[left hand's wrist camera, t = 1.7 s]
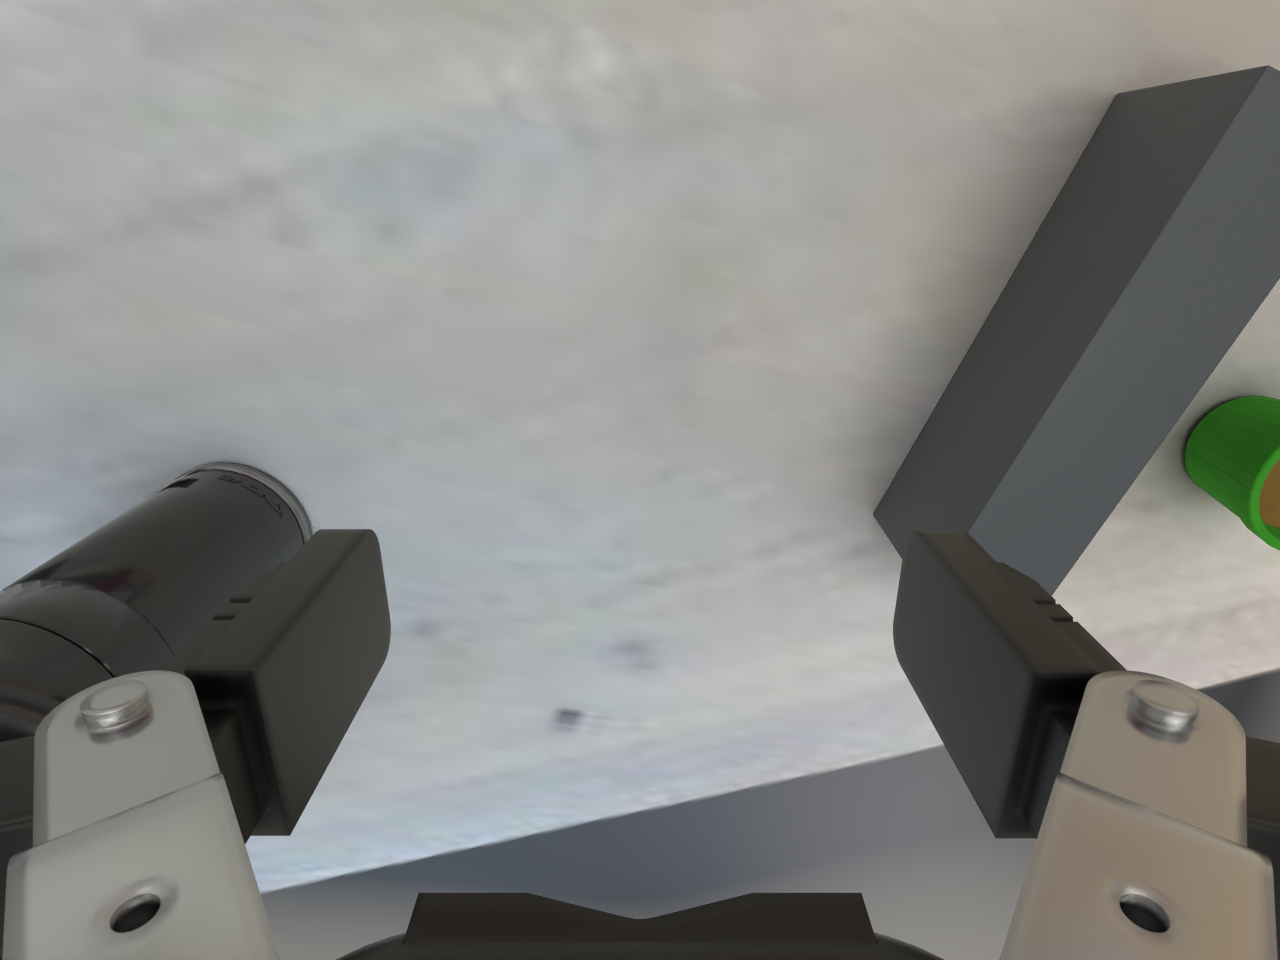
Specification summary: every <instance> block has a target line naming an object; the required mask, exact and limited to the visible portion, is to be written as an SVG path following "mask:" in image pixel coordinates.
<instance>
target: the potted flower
mask: <svg viewBox="0 0 1280 960" xmlns="http://www.w3.org/2000/svg"><path fill="white" fill-rule="evenodd" d="M1185 465H1186V469H1187V472H1188V474H1189V476H1190V478H1191V479H1192V480H1193V482H1194V483H1195V484H1196V485H1198V486H1199V487H1200V488H1201V489H1203V490H1204V491H1205V492H1207V493H1208V494H1209V495H1211V496H1212V497H1213V498H1215V499H1216V500H1217V501H1219V502H1220V503H1221V504H1223V505H1224V506H1225V507H1226V508H1228V509H1229V510H1230V511H1232V512H1233V513H1234V514H1236V515H1237V516H1238V517H1240V519H1241V520H1242V521H1243V523H1244V524H1245V526H1246V527H1247V528H1248V529H1249V530H1251V531H1252V532H1253V533H1254V534H1256V535H1257V536H1258V537H1259V538H1261V539H1262V540H1263V541H1265V542H1266V543H1267V544H1268V545H1270V546H1272V547H1274V548H1276V549H1278V550H1280V400H1278V399H1274V398H1269V397H1264V396H1248V397H1242V398H1238V399H1235V400H1232V401H1229V402H1226V403H1224V404H1222V405H1220V406H1219V407H1217V408H1215V409H1214V410H1213V411H1211V412H1210V413H1208V414H1207V415H1206V416H1205V417H1204V418H1203V419H1202V420H1201V421H1200V422H1199V423H1198V425H1197V426H1196V427H1195V429H1194V430H1193V432H1192V434H1191V436H1190V437H1189V439H1188V442H1187V446H1186V449H1185Z"/></svg>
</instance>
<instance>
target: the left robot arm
mask: <svg viewBox="0 0 1280 960" xmlns="http://www.w3.org/2000/svg"><path fill="white" fill-rule="evenodd" d="M167 485H168V486H167ZM165 486H167V487H166V488H164V489H162V490H161V491H159V492H158V493H156V494H154V495H153V496H151V497H149V498H147V499H146V500H144V501H143V502H141V503H139V504H138V505H136V506H135V507H133V508H131V509H130V510H128V511H127V512H125V513H124V514H122V515H120V516H119V517H117V518H116V519H114V520H112V521H111V522H109V523H108V524H106V525H104V526H103V527H101V528H100V529H98V530H97V531H95V532H93V533H92V534H90V535H89V536H87V537H85V538H84V539H82V540H81V541H79V542H77V543H76V544H74V545H73V546H71V547H70V548H68V549H66V550H65V551H63V552H62V553H60V554H58V555H57V556H55V557H54V558H52V559H50V560H49V561H47V562H46V563H44V564H43V565H41V566H39V567H38V568H36V569H35V570H33V571H31V572H30V573H28V574H27V575H25V576H23V577H22V578H20V579H19V580H17V581H16V582H14V583H12V584H11V585H9V586H8V587H6V588H4V589H3V590H2V591H0V960H281V959H280V956H279V953H278V950H277V946H276V943H275V940H274V937H273V934H272V930H271V927H270V924H269V921H268V918H267V914H266V911H265V908H264V905H263V901H262V898H261V895H260V892H259V889H258V885H257V882H256V879H255V876H254V873H253V869H252V866H251V863H250V860H249V856H248V853H247V850H246V847H245V844H246V842H247V840H248V839H249V837H250V836H290V834H291V833H292V831H293V829H294V827H295V825H296V823H297V822H298V820H299V818H300V816H301V814H302V812H303V811H304V809H305V807H306V805H307V803H308V801H309V800H310V798H311V796H312V794H313V792H314V790H315V789H316V787H317V785H318V783H319V781H320V779H321V777H322V776H323V774H324V772H325V770H326V768H327V766H328V765H329V763H330V761H331V759H332V757H333V755H334V754H335V752H336V750H337V748H338V746H339V744H340V743H341V741H342V739H343V737H344V735H345V733H346V732H347V730H348V728H349V726H350V724H351V722H352V721H353V719H354V717H355V715H356V713H357V711H358V710H359V708H360V706H361V704H362V702H363V700H364V698H365V697H366V695H367V693H368V691H369V689H370V687H371V686H372V684H373V682H374V680H375V678H376V676H377V675H378V673H379V671H380V669H381V667H382V665H383V664H384V661H385V659H386V656H387V653H388V649H389V643H390V634H391V624H390V615H389V608H388V601H387V594H386V587H385V580H384V573H383V566H382V560H381V553H380V546H379V542H378V538H377V536H376V534H375V533H374V531H373V530H371V529H320V530H318V531H317V532H316V533H315V534H314V535H313V536H312V534H311V529H310V525H309V522H308V519H307V517H306V515H305V513H304V511H303V509H302V508H301V506H300V504H299V503H298V502H297V500H296V499H295V498H294V497H293V495H292V494H291V493H290V492H289V491H288V490H287V489H286V488H285V487H284V486H282V485H281V484H280V483H279V482H277V481H276V480H274V479H273V478H271V477H270V476H268V475H266V474H264V473H262V472H260V471H258V470H256V469H253V468H250V467H247V466H244V465H239V464H234V463H211V464H205V465H202V466H198V467H196V468H193V469H191V470H189V471H188V472H186V473H184V474H183V475H181V476H180V477H178V478H177V479H175V480H174V481H172V482H170V483H168V484H166V485H164V486H162V487H160V488H158V489H157V490H155V491H153V492H152V493H154V492H156V491H158V490H160V489H161V488H163V487H165ZM152 493H150V494H152ZM150 494H148V495H150ZM148 495H147V496H148ZM145 497H146V496H145ZM893 637H894V646H895V651H896V655H897V658H898V661H899V663H900V665H901V667H902V669H903V671H904V672H905V674H906V676H907V678H908V680H909V681H910V683H911V685H912V687H913V689H914V691H915V692H916V694H917V696H918V698H919V700H920V701H921V703H922V705H923V707H924V709H925V710H926V712H927V714H928V716H929V718H930V720H931V721H932V723H933V725H934V727H935V729H936V730H937V732H938V734H939V736H940V738H941V740H942V741H943V743H944V745H945V747H946V749H947V750H948V752H949V754H950V756H951V758H952V759H953V761H954V763H955V765H956V767H957V769H958V770H959V772H960V774H961V776H962V778H963V779H964V781H965V783H966V785H967V787H968V788H969V790H970V792H971V794H972V796H973V798H974V799H975V801H976V803H977V805H978V807H979V808H980V810H981V812H982V814H983V816H984V818H985V819H986V821H987V823H988V825H989V827H990V828H991V830H992V832H993V834H994V836H995V838H1036V839H1037V840H1036V844H1035V847H1034V850H1033V853H1032V856H1031V860H1030V863H1029V866H1028V869H1027V873H1026V876H1025V879H1024V882H1023V885H1022V889H1021V892H1020V895H1019V898H1018V902H1017V905H1016V908H1015V911H1014V914H1013V918H1012V921H1011V924H1010V927H1009V930H1008V934H1007V937H1006V940H1005V943H1004V946H1003V950H1002V953H1001V956H1000V959H999V960H1280V743H1276V742H1271V741H1265V740H1260V739H1255V738H1250V737H1246V736H1245V733H1244V730H1243V728H1242V726H1241V724H1240V723H1239V722H1238V720H1237V719H1236V718H1235V717H1234V716H1233V715H1232V714H1231V713H1230V712H1229V711H1228V710H1227V709H1226V708H1224V707H1223V706H1222V705H1220V704H1219V703H1218V702H1216V701H1215V700H1213V699H1212V698H1210V697H1208V696H1207V695H1205V694H1203V693H1201V692H1199V691H1197V690H1195V689H1193V688H1191V687H1189V686H1187V685H1184V684H1182V683H1179V682H1177V681H1174V680H1171V679H1168V678H1165V677H1161V676H1157V675H1154V674H1148V673H1143V672H1136V671H1127V670H1126V669H1125V668H1124V667H1123V666H1122V665H1121V664H1120V663H1119V662H1118V661H1117V660H1116V659H1115V658H1114V657H1113V656H1112V655H1111V654H1110V653H1109V652H1108V651H1107V650H1106V649H1105V648H1104V647H1103V646H1102V645H1100V644H1099V643H1098V642H1097V641H1096V640H1095V639H1094V638H1093V637H1092V636H1091V635H1090V634H1089V633H1088V632H1087V631H1086V630H1085V629H1084V628H1083V627H1082V626H1081V625H1080V624H1079V623H1078V622H1073V617H1072V616H1071V615H1070V614H1069V613H1068V612H1067V611H1066V610H1065V609H1064V608H1063V607H1062V606H1061V605H1060V604H1056V603H1055V599H1054V598H1053V597H1052V596H1051V595H1050V594H1049V593H1048V592H1047V591H1045V590H1044V589H1043V588H1042V587H1041V586H1040V585H1039V584H1038V583H1037V582H1036V581H1035V580H1034V579H1032V578H1030V577H1029V576H1027V575H1025V574H1023V573H1021V572H1019V571H1018V570H1016V569H1014V568H1012V567H1010V566H1008V565H1007V564H1005V563H1003V562H996V561H995V560H994V559H993V558H992V557H991V556H990V555H989V554H988V553H987V552H986V551H985V550H984V549H983V548H982V547H981V546H980V545H979V544H978V543H977V541H976V540H975V539H974V538H973V537H972V536H971V535H970V534H969V533H968V532H966V531H963V530H914V531H912V532H911V533H910V534H909V535H908V537H907V540H906V543H905V547H904V554H903V560H902V567H901V574H900V581H899V588H898V594H897V601H896V608H895V615H894V623H893ZM336 960H944V959H942V958H940V957H937V956H935V955H933V954H931V953H929V952H927V951H925V950H923V949H920V948H918V947H916V946H914V945H911V944H908V943H905V942H902V941H899V940H897V939H894V938H891V937H888V936H885V935H881V934H877V933H874V932H873V929H872V926H871V922H870V919H869V916H868V913H867V910H866V907H865V903H864V900H863V897H862V894H861V893H750V894H746V895H742V896H738V897H734V898H730V899H727V900H722V901H718V902H714V903H710V904H706V905H702V906H698V907H694V908H690V909H686V910H682V911H678V912H674V913H670V914H666V915H662V916H658V917H654V918H648V919H631V918H626V917H622V916H618V915H614V914H610V913H606V912H602V911H598V910H594V909H590V908H586V907H582V906H578V905H574V904H570V903H566V902H562V901H558V900H554V899H549V898H546V897H542V896H538V895H534V894H529V893H419V894H418V897H417V900H416V903H415V907H414V910H413V913H412V916H411V919H410V922H409V926H408V929H407V932H406V933H403V934H399V935H395V936H392V937H389V938H386V939H383V940H380V941H378V942H375V943H372V944H369V945H366V946H364V947H362V948H360V949H357V950H355V951H353V952H351V953H349V954H347V955H345V956H343V957H341V958H338V959H336Z"/></svg>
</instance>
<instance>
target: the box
mask: <svg viewBox="0 0 1280 960" xmlns="http://www.w3.org/2000/svg"><path fill="white" fill-rule="evenodd" d="M1279 278H1280V71H1278V70H1276V69H1274V68H1272V67H1270V66H1262V67H1257V68H1252V69H1246V70H1241V71H1236V72H1230V73H1225V74H1220V75H1214V76H1209V77H1204V78H1198V79H1193V80H1188V81H1182V82H1177V83H1172V84H1166V85H1161V86H1156V87H1150V88H1145V89H1139V90H1134V91H1129V92H1123V93H1118V94H1117V96H1116V98H1115V99H1114V101H1113V103H1112V105H1111V106H1110V108H1109V110H1108V111H1107V113H1106V115H1105V117H1104V118H1103V120H1102V122H1101V124H1100V125H1099V127H1098V129H1097V130H1096V132H1095V134H1094V136H1093V137H1092V139H1091V141H1090V142H1089V144H1088V146H1087V148H1086V149H1085V151H1084V153H1083V155H1082V156H1081V158H1080V160H1079V161H1078V163H1077V165H1076V167H1075V168H1074V170H1073V172H1072V173H1071V175H1070V177H1069V179H1068V180H1067V182H1066V184H1065V185H1064V187H1063V189H1062V191H1061V192H1060V194H1059V196H1058V198H1057V199H1056V201H1055V203H1054V204H1053V206H1052V208H1051V210H1050V211H1049V213H1048V215H1047V216H1046V218H1045V220H1044V222H1043V223H1042V225H1041V227H1040V229H1039V230H1038V232H1037V234H1036V235H1035V237H1034V239H1033V241H1032V242H1031V244H1030V246H1029V247H1028V249H1027V251H1026V253H1025V254H1024V256H1023V258H1022V260H1021V261H1020V263H1019V265H1018V266H1017V268H1016V270H1015V272H1014V273H1013V275H1012V277H1011V278H1010V280H1009V282H1008V284H1007V285H1006V287H1005V289H1004V290H1003V292H1002V294H1001V296H1000V297H999V299H998V301H997V303H996V304H995V306H994V308H993V309H992V311H991V313H990V315H989V316H988V318H987V320H986V321H985V323H984V325H983V327H982V328H981V330H980V332H979V334H978V335H977V337H976V339H975V340H974V342H973V344H972V346H971V347H970V349H969V351H968V352H967V354H966V356H965V358H964V359H963V361H962V363H961V365H960V366H959V368H958V370H957V371H956V373H955V375H954V377H953V378H952V380H951V382H950V383H949V385H948V387H947V389H946V390H945V392H944V394H943V395H942V397H941V399H940V401H939V402H938V404H937V406H936V408H935V409H934V411H933V413H932V414H931V416H930V418H929V420H928V421H927V423H926V425H925V426H924V428H923V430H922V432H921V433H920V435H919V437H918V439H917V440H916V442H915V444H914V445H913V447H912V449H911V451H910V452H909V454H908V456H907V457H906V459H905V461H904V463H903V464H902V466H901V468H900V470H899V471H898V473H897V475H896V476H895V478H894V480H893V482H892V483H891V485H890V487H889V488H888V490H887V492H886V494H885V495H884V497H883V499H882V500H881V502H880V504H879V506H878V507H877V509H876V511H875V513H874V514H873V516H874V517H875V519H876V520H877V522H878V523H879V525H880V526H881V528H882V529H883V531H884V532H885V534H886V535H887V537H888V538H889V540H890V541H891V543H892V544H893V546H894V547H895V549H896V550H897V552H898V553H899V555H900V556H901V558H902V559H903V554H904V547H905V543H906V540H907V537H908V535H909V534H910V533H911V532H912V531H914V530H963V531H966V532H968V533H969V534H970V535H971V536H972V537H973V538H974V539H975V540H976V541H977V543H978V544H979V545H980V546H981V547H982V548H983V549H984V550H985V551H986V552H987V553H988V554H989V555H990V556H991V557H992V558H993V559H994V560H995V561H996V562H1003V563H1005V564H1007V565H1008V566H1010V567H1012V568H1014V569H1016V570H1018V571H1019V572H1021V573H1023V574H1025V575H1027V576H1029V577H1030V578H1032V579H1034V580H1035V581H1036V582H1037V583H1038V584H1039V585H1040V586H1041V587H1042V588H1043V589H1044V590H1045V591H1047V592H1048V593H1049V594H1050V595H1051V596H1052V595H1053V593H1054V592H1055V590H1056V589H1057V588H1058V586H1059V585H1060V583H1061V582H1062V581H1063V579H1064V578H1065V577H1066V575H1067V574H1068V572H1069V571H1070V570H1071V568H1072V567H1073V565H1074V564H1075V563H1076V561H1077V560H1078V558H1079V557H1080V556H1081V554H1082V553H1083V551H1084V550H1085V549H1086V547H1087V546H1088V544H1089V543H1090V542H1091V540H1092V539H1093V538H1094V536H1095V535H1096V533H1097V532H1098V531H1099V529H1100V528H1101V526H1102V525H1103V524H1104V522H1105V521H1106V519H1107V518H1108V517H1109V515H1110V514H1111V512H1112V511H1113V510H1114V508H1115V507H1116V505H1117V504H1118V503H1119V501H1120V500H1121V499H1122V497H1123V496H1124V494H1125V493H1126V492H1127V490H1128V489H1129V487H1130V486H1131V485H1132V483H1133V482H1134V480H1135V479H1136V478H1137V476H1138V475H1139V473H1140V472H1141V471H1142V469H1143V468H1144V466H1145V465H1146V464H1147V462H1148V461H1149V460H1150V458H1151V457H1152V455H1153V454H1154V453H1155V451H1156V450H1157V448H1158V447H1159V446H1160V444H1161V443H1162V441H1163V440H1164V439H1165V437H1166V436H1167V434H1168V433H1169V432H1170V430H1171V429H1172V427H1173V426H1174V425H1175V423H1176V422H1177V421H1178V419H1179V418H1180V416H1181V415H1182V414H1183V412H1184V411H1185V409H1186V408H1187V407H1188V405H1189V404H1190V402H1191V401H1192V400H1193V398H1194V397H1195V395H1196V394H1197V393H1198V391H1199V390H1200V388H1201V387H1202V386H1203V384H1204V383H1205V382H1206V380H1207V379H1208V377H1209V376H1210V375H1211V373H1212V372H1213V370H1214V369H1215V368H1216V366H1217V365H1218V363H1219V362H1220V361H1221V359H1222V358H1223V356H1224V355H1225V354H1226V352H1227V351H1228V349H1229V348H1230V347H1231V345H1232V344H1233V343H1234V341H1235V340H1236V338H1237V337H1238V336H1239V334H1240V333H1241V331H1242V330H1243V329H1244V327H1245V326H1246V324H1247V323H1248V322H1249V320H1250V319H1251V317H1252V316H1253V315H1254V313H1255V312H1256V310H1257V309H1258V308H1259V306H1260V305H1261V304H1262V302H1263V301H1264V299H1265V298H1266V297H1267V295H1268V294H1269V292H1270V291H1271V290H1272V288H1273V287H1274V285H1275V284H1276V283H1277V281H1278V280H1279Z"/></svg>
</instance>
